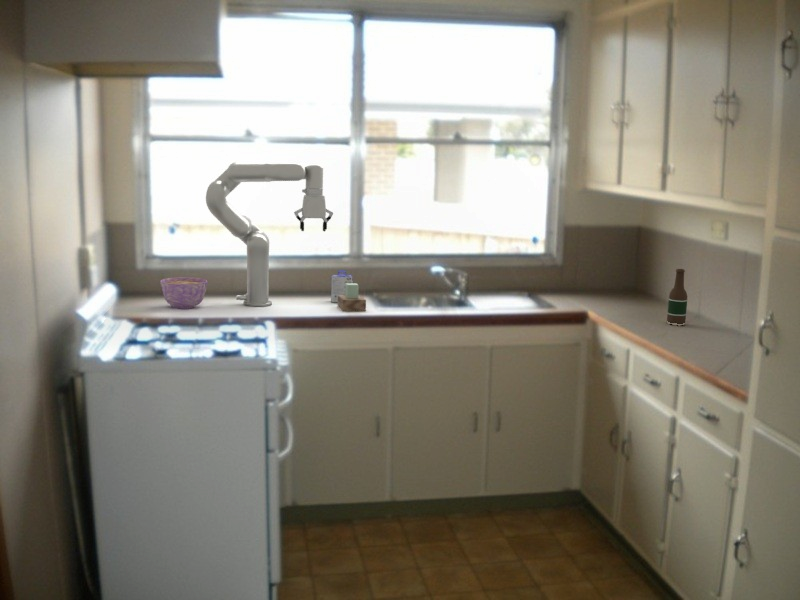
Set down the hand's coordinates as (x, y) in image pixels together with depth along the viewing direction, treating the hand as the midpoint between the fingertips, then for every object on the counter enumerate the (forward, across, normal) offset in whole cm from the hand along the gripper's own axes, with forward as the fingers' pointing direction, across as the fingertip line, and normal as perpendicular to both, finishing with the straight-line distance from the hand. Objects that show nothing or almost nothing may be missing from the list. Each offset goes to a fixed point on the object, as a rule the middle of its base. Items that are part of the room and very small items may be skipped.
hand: (313, 231), depth 401 cm
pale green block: (+28, +16, -10) cm, 34 cm away
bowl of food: (+34, -56, -2) cm, 65 cm away
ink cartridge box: (+34, +15, +8) cm, 38 cm away
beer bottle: (+34, +149, -57) cm, 163 cm away
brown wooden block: (+33, +16, -10) cm, 38 cm away
